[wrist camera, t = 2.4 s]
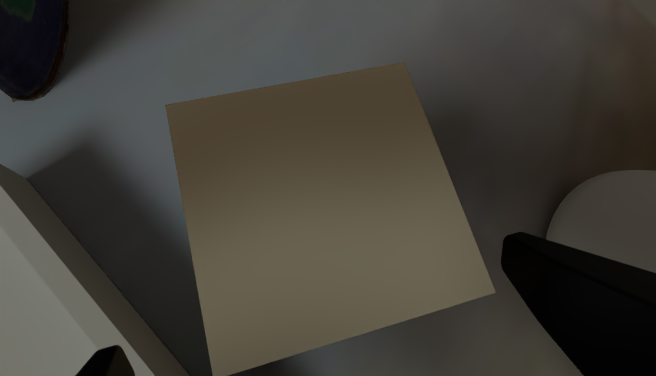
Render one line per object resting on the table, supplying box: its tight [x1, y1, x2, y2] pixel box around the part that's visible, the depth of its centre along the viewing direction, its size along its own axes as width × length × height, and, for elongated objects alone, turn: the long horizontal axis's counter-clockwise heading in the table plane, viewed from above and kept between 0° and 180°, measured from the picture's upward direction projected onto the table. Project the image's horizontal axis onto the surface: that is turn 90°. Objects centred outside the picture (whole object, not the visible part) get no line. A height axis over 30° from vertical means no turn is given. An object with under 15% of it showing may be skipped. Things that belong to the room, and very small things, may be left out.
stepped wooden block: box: [165, 62, 496, 376], centre depth 12 cm, size 6×6×12 cm
